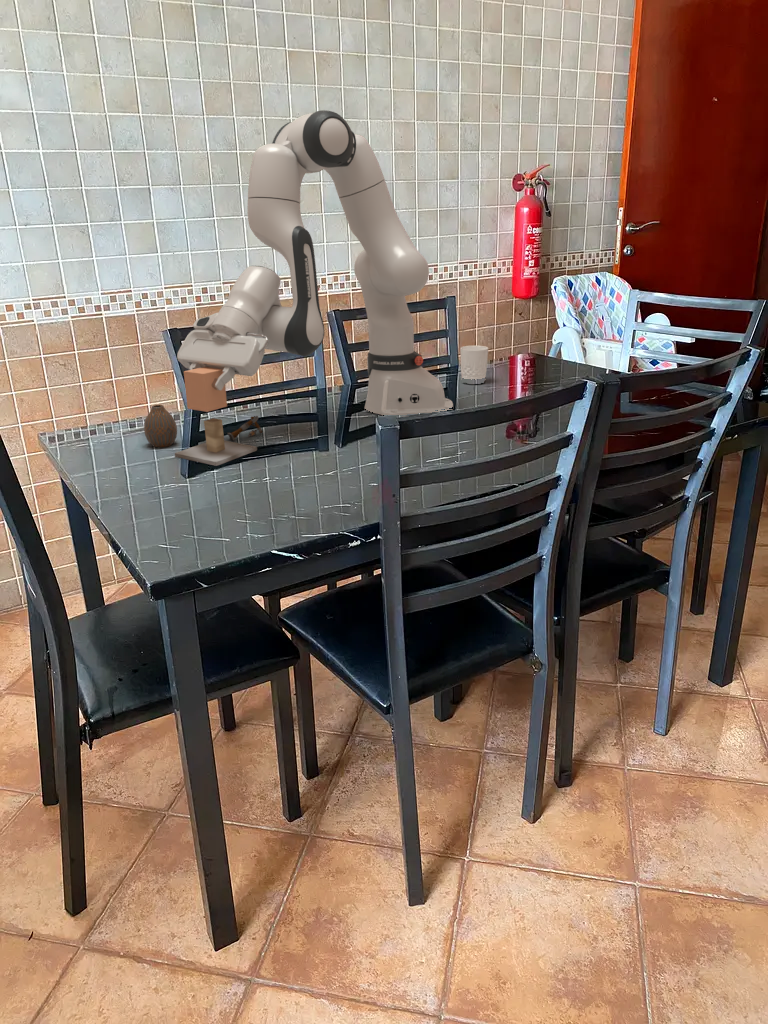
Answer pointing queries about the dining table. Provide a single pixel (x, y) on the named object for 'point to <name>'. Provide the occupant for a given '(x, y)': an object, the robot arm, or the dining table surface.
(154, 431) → the vase
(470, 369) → the white cup
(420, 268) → the robot arm
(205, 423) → the base with wooden post
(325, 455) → the dining table surface
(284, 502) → the dining table surface
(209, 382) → the tan cardboard cube
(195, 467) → the dining table surface
